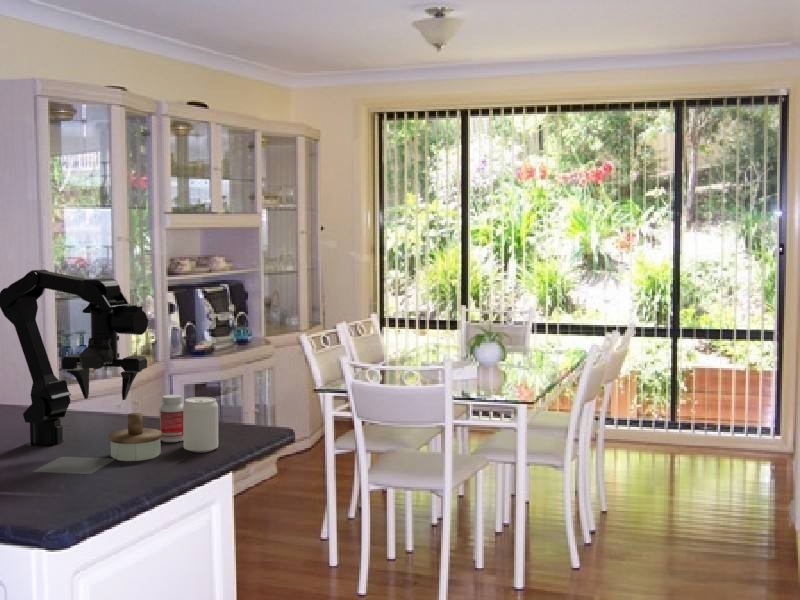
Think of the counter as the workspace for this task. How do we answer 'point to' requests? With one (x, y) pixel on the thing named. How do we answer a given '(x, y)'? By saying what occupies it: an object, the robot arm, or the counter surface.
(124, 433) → the lid
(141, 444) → the bowl
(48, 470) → the mat
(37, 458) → the counter surface
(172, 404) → the pill bottle
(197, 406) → the beverage can
